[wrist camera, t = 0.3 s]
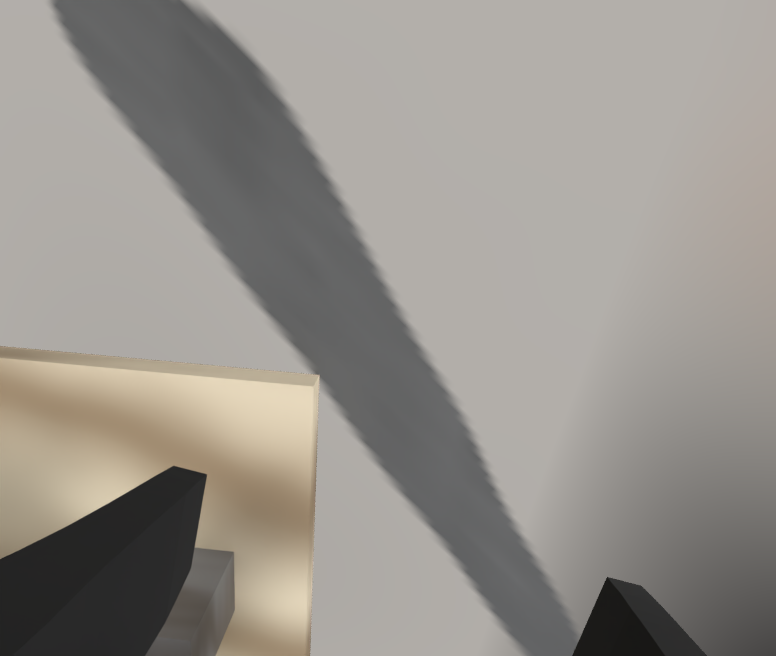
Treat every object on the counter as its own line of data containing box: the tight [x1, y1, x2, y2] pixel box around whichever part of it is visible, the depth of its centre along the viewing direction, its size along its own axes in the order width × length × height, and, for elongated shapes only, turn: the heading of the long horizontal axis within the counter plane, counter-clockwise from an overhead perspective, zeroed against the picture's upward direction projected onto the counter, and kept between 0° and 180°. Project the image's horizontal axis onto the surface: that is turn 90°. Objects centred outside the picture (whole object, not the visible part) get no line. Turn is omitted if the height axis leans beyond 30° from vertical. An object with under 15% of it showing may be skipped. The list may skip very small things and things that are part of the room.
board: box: [0, 346, 319, 656], centre depth 21 cm, size 20×14×5 cm
